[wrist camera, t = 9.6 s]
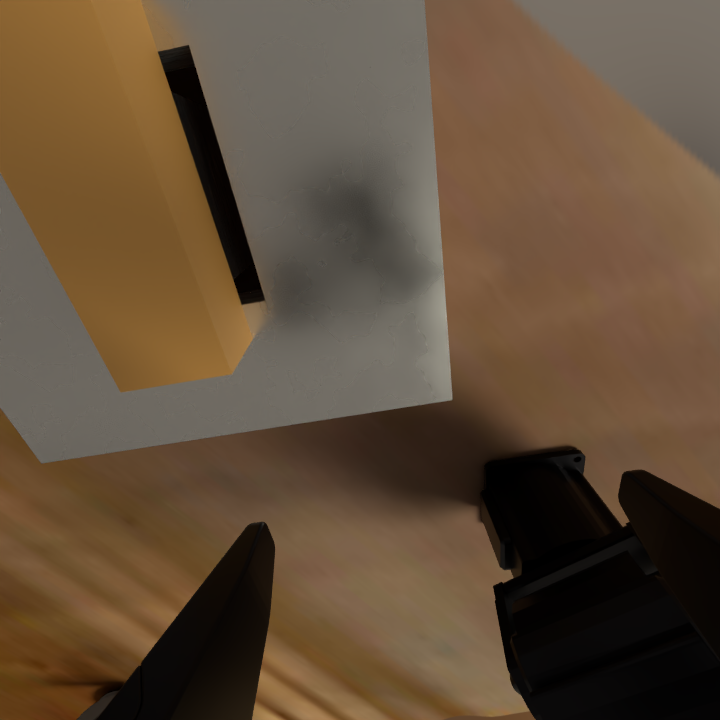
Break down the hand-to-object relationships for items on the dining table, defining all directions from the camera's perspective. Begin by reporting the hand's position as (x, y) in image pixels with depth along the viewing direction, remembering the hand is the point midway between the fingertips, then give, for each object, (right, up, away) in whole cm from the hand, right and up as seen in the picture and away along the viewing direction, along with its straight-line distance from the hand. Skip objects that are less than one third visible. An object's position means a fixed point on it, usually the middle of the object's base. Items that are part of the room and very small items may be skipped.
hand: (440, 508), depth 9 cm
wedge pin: (-9, +11, +7) cm, 16 cm away
